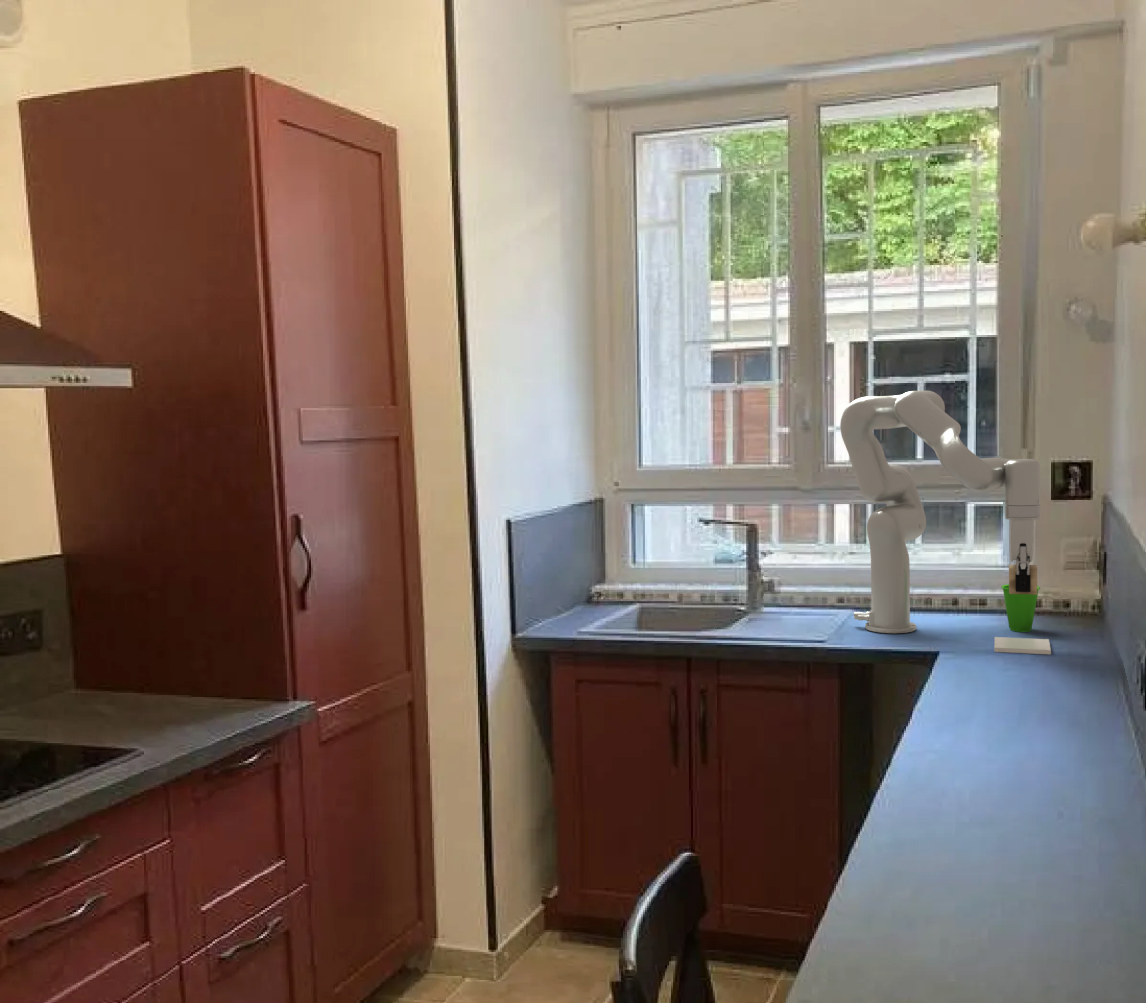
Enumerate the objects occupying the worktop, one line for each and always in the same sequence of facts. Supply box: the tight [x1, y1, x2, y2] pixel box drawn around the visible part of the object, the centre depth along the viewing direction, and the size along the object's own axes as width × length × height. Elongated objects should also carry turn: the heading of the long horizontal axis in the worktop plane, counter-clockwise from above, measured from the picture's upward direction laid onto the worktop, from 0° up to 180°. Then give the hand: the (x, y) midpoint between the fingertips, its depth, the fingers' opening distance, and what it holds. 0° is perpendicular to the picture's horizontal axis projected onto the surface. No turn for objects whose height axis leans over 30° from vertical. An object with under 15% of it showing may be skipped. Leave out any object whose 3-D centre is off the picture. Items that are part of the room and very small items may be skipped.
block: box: [1008, 564, 1038, 595], centre depth 258 cm, size 6×6×6 cm
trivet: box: [993, 636, 1052, 655], centre depth 259 cm, size 12×12×1 cm
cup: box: [1001, 583, 1041, 633], centre depth 278 cm, size 9×9×11 cm
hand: (1022, 588), depth 258 cm, fingers closed on block, 6 cm apart
